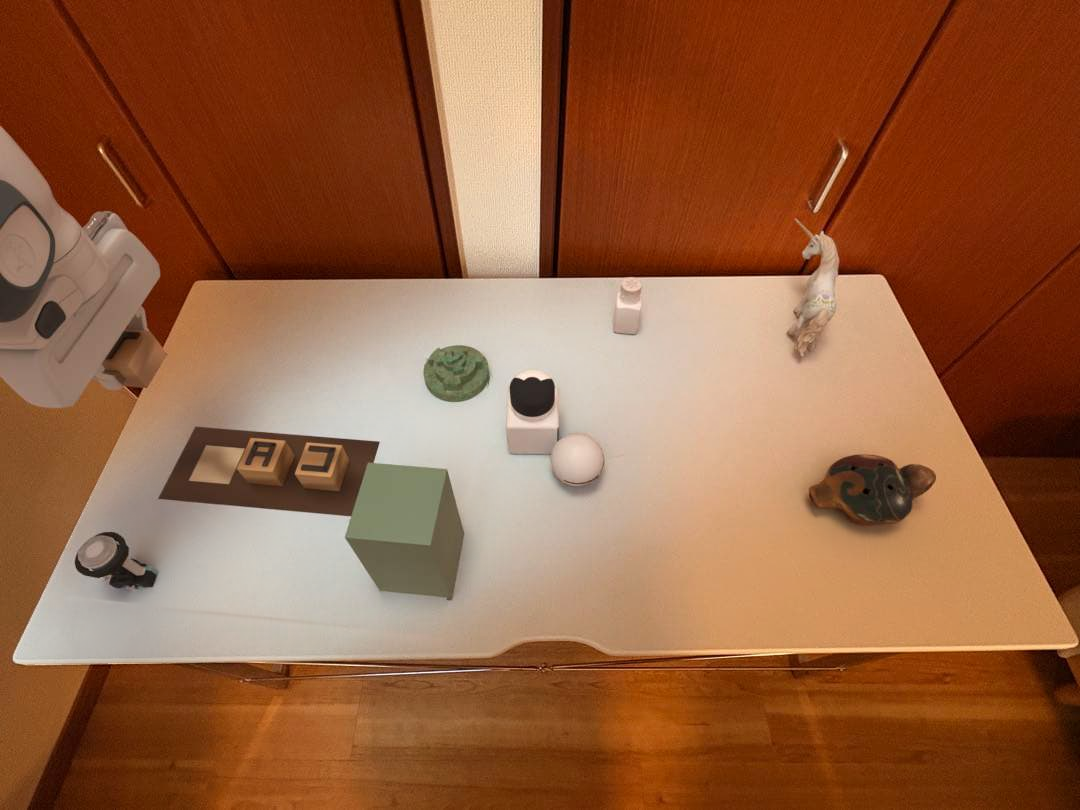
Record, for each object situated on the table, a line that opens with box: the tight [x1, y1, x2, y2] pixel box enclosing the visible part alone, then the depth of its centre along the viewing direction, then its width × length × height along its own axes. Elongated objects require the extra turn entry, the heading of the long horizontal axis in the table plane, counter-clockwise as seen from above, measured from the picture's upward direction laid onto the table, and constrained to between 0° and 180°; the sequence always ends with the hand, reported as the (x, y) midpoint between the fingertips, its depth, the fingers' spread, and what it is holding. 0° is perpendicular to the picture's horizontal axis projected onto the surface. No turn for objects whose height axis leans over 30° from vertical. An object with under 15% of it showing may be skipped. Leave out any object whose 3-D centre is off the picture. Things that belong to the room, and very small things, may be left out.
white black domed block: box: [505, 369, 560, 455], centre depth 86 cm, size 7×7×12 cm
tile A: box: [237, 438, 295, 486], centre depth 85 cm, size 5×5×4 cm
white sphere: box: [549, 432, 623, 487], centre depth 84 cm, size 10×7×7 cm
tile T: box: [101, 328, 168, 389], centre depth 68 cm, size 5×5×4 cm
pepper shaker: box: [612, 276, 643, 335], centre depth 99 cm, size 4×4×10 cm
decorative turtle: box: [808, 453, 937, 526], centre depth 80 cm, size 10×15×8 cm, turn 100°
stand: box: [344, 462, 465, 601], centre depth 72 cm, size 9×9×17 cm
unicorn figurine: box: [786, 218, 840, 358], centre depth 98 cm, size 7×20×13 cm, turn 178°
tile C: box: [295, 443, 349, 491], centre depth 84 cm, size 5×5×4 cm
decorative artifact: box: [423, 344, 491, 403], centre depth 94 cm, size 10×7×10 cm
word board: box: [157, 426, 381, 517], centre depth 87 cm, size 12×28×1 cm, turn 84°
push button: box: [74, 531, 159, 591], centre depth 74 cm, size 7×5×10 cm
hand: (131, 363), depth 69 cm, fingers closed on tile T, 5 cm apart
